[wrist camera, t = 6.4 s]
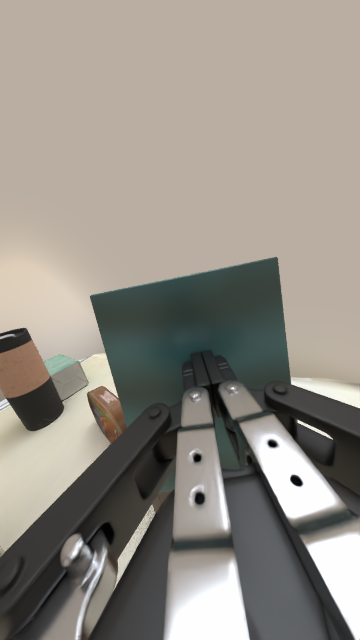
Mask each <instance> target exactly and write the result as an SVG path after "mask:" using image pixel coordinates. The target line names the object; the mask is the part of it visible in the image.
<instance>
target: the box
mask: <svg viewBox="0 0 360 640" xmlns="http://www.w3.org/2000/svg"><path fill="white" fill-rule="evenodd" d="M44 364H45V366H46V368H47V370H48V372H49V374H50V376H51V378H52V381H53V383H54V385H55V387H56V390H57V392H58V394H59V396H60V399H61V400H65V399H66V398H68V397H69V396H71V395H73V394H74V393H76V392H77V391H79V390H80V389H82V388H83V387H85V386H86V385H87V384H88V380H87V378H86V376H85V374H84V372H83V369H82V367H81V365H80V363H79V361H77V360H75V359H72V358H69V357H67V356H64V355H58V356H55V357H53V358H51V359H49V360H47V361H45V362H44Z"/></svg>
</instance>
